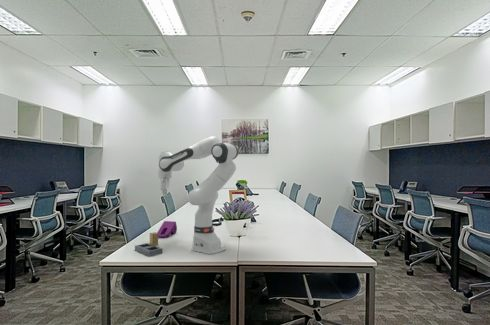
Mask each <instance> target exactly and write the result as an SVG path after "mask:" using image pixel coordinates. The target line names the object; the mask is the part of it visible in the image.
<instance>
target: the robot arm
mask: <svg viewBox="0 0 490 325" xmlns="http://www.w3.org/2000/svg"><path fill="white" fill-rule="evenodd" d="M211 155H212V158H213V159H214V160H215V162H216V163H217V164H218V165H217V166H216V167H215V169H214V170H213V171H212V172H211V174H209V176H208V177H207V178H206V179H205V180H203V181H202V182H201V183H200V184H198V186H196V187H195V188H193V189H192V190H190V191H189V192H188V194H187V201H188V202H189V204H191V205H192V206H198V208H197V210H196V212H195V213H194V227H193V233H194V232H195V234H193V236H192V247H191V248H190V250H191V251H193V252H198V253H203V254H207V255H211V254H217V253H221V252H224V251H225V250H226V248H225V247H223V246H222V241H221V238H220V237H219V236H217V234H216V233H215V227H214V226H213V211H214V208H215V207H214V206H215V204H216V201H217V199H218V197H219V191H220V190H222V188H224V186H225V185H226V184H227V183H228V182H229V181H230V179H231V178H232V176H233V175H234V174H235V172H236V170H237V167H236V164H235V162H234V161H233V160H235V159H236V158H237V157H238V155H239V149H238V147H237V146H236V145H235V144H232V143H229V142H222V141H221V140H220V139H219V138H218V136H215V135H211V136H209V137H206V138H203V139H201V140H200V141H198V142H196V143H194V144H192V145H191V146H188V147H186V148H184V149H183V150H180V151H178V152H175V153H174V154H173V153H172V152H170V151H162V152H161V153H159V156H158V172H157V176H158V179H160V190H162V191H161V192H162V197H166V195H167V193H168V188H169V186H170V179H172V174H173V173H172V172H179V171H181V170H182V169H183V168H184V166H185V165H184V164H185V163H184V161H188V160H201V159H205V158H207V157H210V156H211Z"/></svg>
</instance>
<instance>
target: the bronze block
mask: <svg viewBox="0 0 490 325" xmlns="http://www.w3.org/2000/svg"><path fill="white" fill-rule="evenodd" d="M149 243H150V244H152V245H155V246H157V247H158V246H159V238H158V233H157V231H156V232H155V231H154V232H149Z"/></svg>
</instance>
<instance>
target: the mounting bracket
mask: <svg viewBox="0 0 490 325" xmlns="http://www.w3.org/2000/svg"><path fill="white" fill-rule="evenodd" d="M177 230H178V225H177V222H176V221H174V220H173V221H172V220H171V221H170V220H169V221H168V220H164V221H163V222H162V224H161V226H160V227H159V228H158V230H157V231H156V233H158V239H167V238H168V237H170V236H171V235H172V236H174V235H176V234H177Z"/></svg>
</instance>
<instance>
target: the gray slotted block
mask: <svg viewBox="0 0 490 325" xmlns="http://www.w3.org/2000/svg"><path fill="white" fill-rule="evenodd" d="M163 250H164V249H163V248H162V247H160V246H158V245H157V246H155V245H152V244H150V242H147V243H141V244H136V245H134V251H135V252H137V253H140V254H142V255H144V256H147V257H153V256H158V255H163V254H162V253H163Z"/></svg>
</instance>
